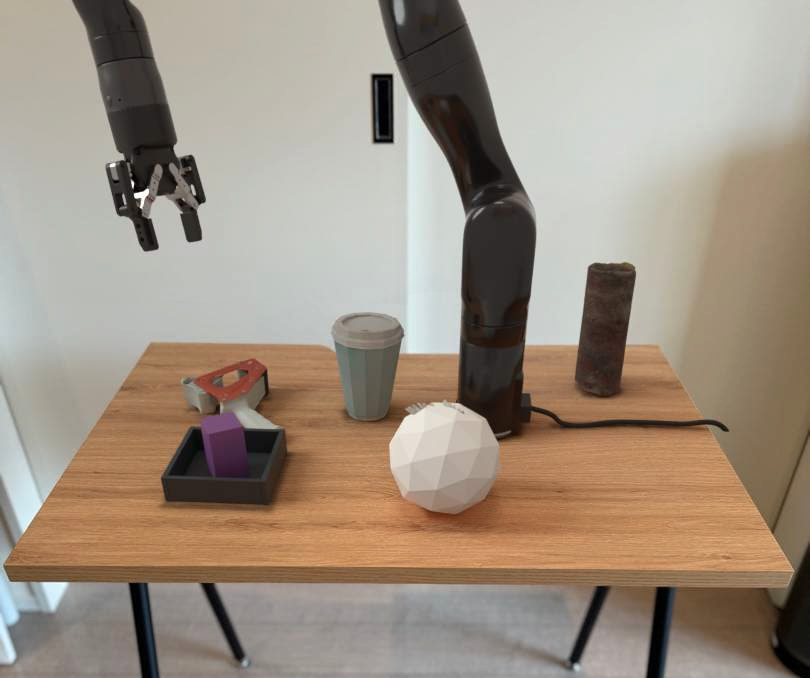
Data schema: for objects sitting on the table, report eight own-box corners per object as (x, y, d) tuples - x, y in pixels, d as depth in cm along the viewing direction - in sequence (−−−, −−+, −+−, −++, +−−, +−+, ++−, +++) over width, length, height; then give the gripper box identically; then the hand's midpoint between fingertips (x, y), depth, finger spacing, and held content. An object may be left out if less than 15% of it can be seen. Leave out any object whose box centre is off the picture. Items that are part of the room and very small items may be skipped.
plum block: (208, 470, 109) (199, 418, 104) (240, 463, 110) (232, 411, 106) (217, 487, 106) (208, 434, 101) (250, 478, 107) (243, 426, 102)
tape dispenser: (279, 461, 115) (306, 390, 130) (277, 430, 111) (305, 361, 126) (159, 450, 116) (200, 381, 131) (153, 419, 112) (195, 351, 127)
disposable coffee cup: (338, 395, 128) (333, 304, 119) (405, 396, 128) (406, 305, 119) (331, 428, 120) (325, 332, 111) (403, 429, 120) (403, 334, 110)
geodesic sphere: (347, 485, 96) (419, 407, 88) (371, 428, 108) (437, 353, 100) (442, 555, 100) (520, 486, 92) (456, 493, 112) (526, 426, 103)
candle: (565, 390, 130) (582, 267, 118) (580, 373, 135) (597, 253, 123) (611, 401, 127) (633, 275, 115) (625, 383, 132) (647, 261, 120)
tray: (287, 455, 113) (285, 429, 111) (268, 510, 103) (265, 481, 100) (195, 452, 114) (190, 426, 112) (166, 505, 103) (160, 478, 101)
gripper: (117, 100, 90) (158, 251, 97) (198, 100, 101) (230, 235, 108) (71, 113, 94) (113, 257, 100) (154, 112, 105) (187, 242, 111)
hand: (174, 246), depth 104 cm, fingers open, 8 cm apart
